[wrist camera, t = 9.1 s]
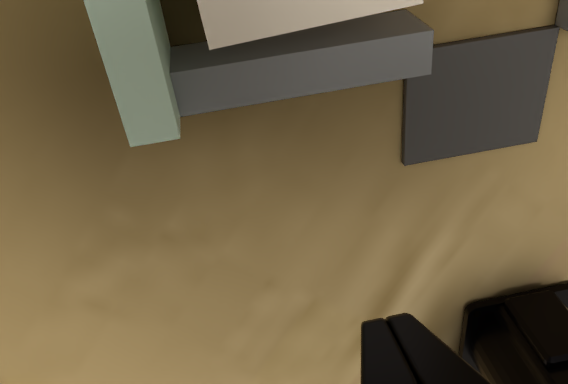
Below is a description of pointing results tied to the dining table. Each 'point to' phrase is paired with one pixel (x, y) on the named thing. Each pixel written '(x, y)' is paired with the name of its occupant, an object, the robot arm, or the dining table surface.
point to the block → (281, 16)
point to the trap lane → (333, 75)
